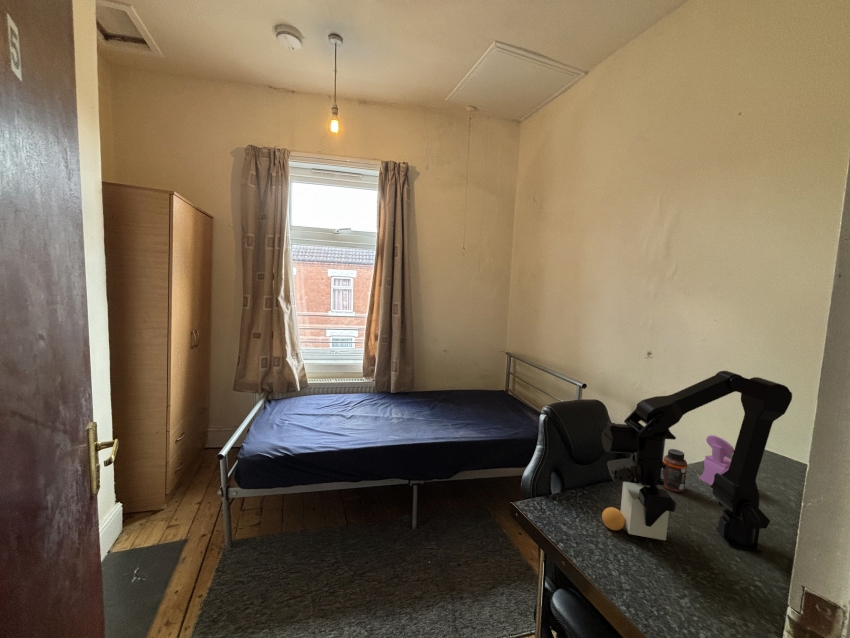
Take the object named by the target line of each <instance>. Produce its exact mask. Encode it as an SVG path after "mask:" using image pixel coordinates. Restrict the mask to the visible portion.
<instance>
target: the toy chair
mask: <svg viewBox="0 0 850 638" xmlns="http://www.w3.org/2000/svg"><path fill="white" fill-rule="evenodd" d="M705 440H706V444H708V446H709V447H710V448H711V455H705V457H704V460H703V464H704V470H703V472H702V474H701V475H700V476H699V477H698V478H699V479H700V480H701V481H703V482H705V483H706V484H708V485H710V486H711V485H712V484H713V482H714V475H715V474H716V473H719V474H723V473H724V472H726V471H727V470H728V469H729V467H730V463H731V460H732V458H730V457H731V456H733V453H734V449H735V447H734V446H733V445H732V444H731V443H729V442H728V441H727V440H725V439H723V438H722V437H720V436H717V435H712V434H711V435H708V436H706V439H705Z"/></svg>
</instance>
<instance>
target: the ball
mask: <svg viewBox="0 0 850 638" xmlns="http://www.w3.org/2000/svg"><path fill="white" fill-rule="evenodd" d="M620 511H621V510H619V509H617V508H616V507H612V506H610V507H606V508H605V509H604V510H603V512H602V513H601V514H602V515H601V519H602V522H603V524H604V525H605V526H606V527H607V528H608V529H609V530H611V531H620V530H622V529H623V528H624V526H625V519H624V516H623V514H622V513H621V512H620Z"/></svg>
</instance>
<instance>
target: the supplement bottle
mask: <svg viewBox="0 0 850 638" xmlns="http://www.w3.org/2000/svg"><path fill="white" fill-rule="evenodd" d="M663 462H664V463H665V464H666V469H663V468H662V473H661V478H662V479H663V481H664V486H663V485H661V486H662V487H664V488H665V490H668V491H670V492H674V493H675V492H676V493H682V492H684V491H685V488H686V481H687V480H686V479H687V471H688V470H687V469H688V461H687V460H686V459H685V452H683V451H681V450H679V449H674V448H669V449H668V451H667V454H666V455H665V456H663Z"/></svg>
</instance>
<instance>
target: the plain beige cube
mask: <svg viewBox="0 0 850 638" xmlns="http://www.w3.org/2000/svg"><path fill="white" fill-rule="evenodd" d="M643 487H645V486H644V485H641V484H636V483H631V482H630V481H626V482H622V489H621V490H622V492H621V503H620V510H619V511H620V512H621V513H622V514H623V516H624V519H625V524H624V526H625V528H626V530H627V533H628V534H629V535H634V536H640V537H645V538H649V539H655V540H661V541H667V534H668V524H669V517H670V516H669V515H670V514H669V513H670V511H666V512H664V513H663V514H662V515H661V516H660V517H659V518H658V519H657V520H656V522H655V523H654V524H653V525H652V526H651V527H649V526H646V525H645V516H644V506H643V505H642V504H641V502H640V500H639V499H638V497H639V489H641V488H643Z"/></svg>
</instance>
